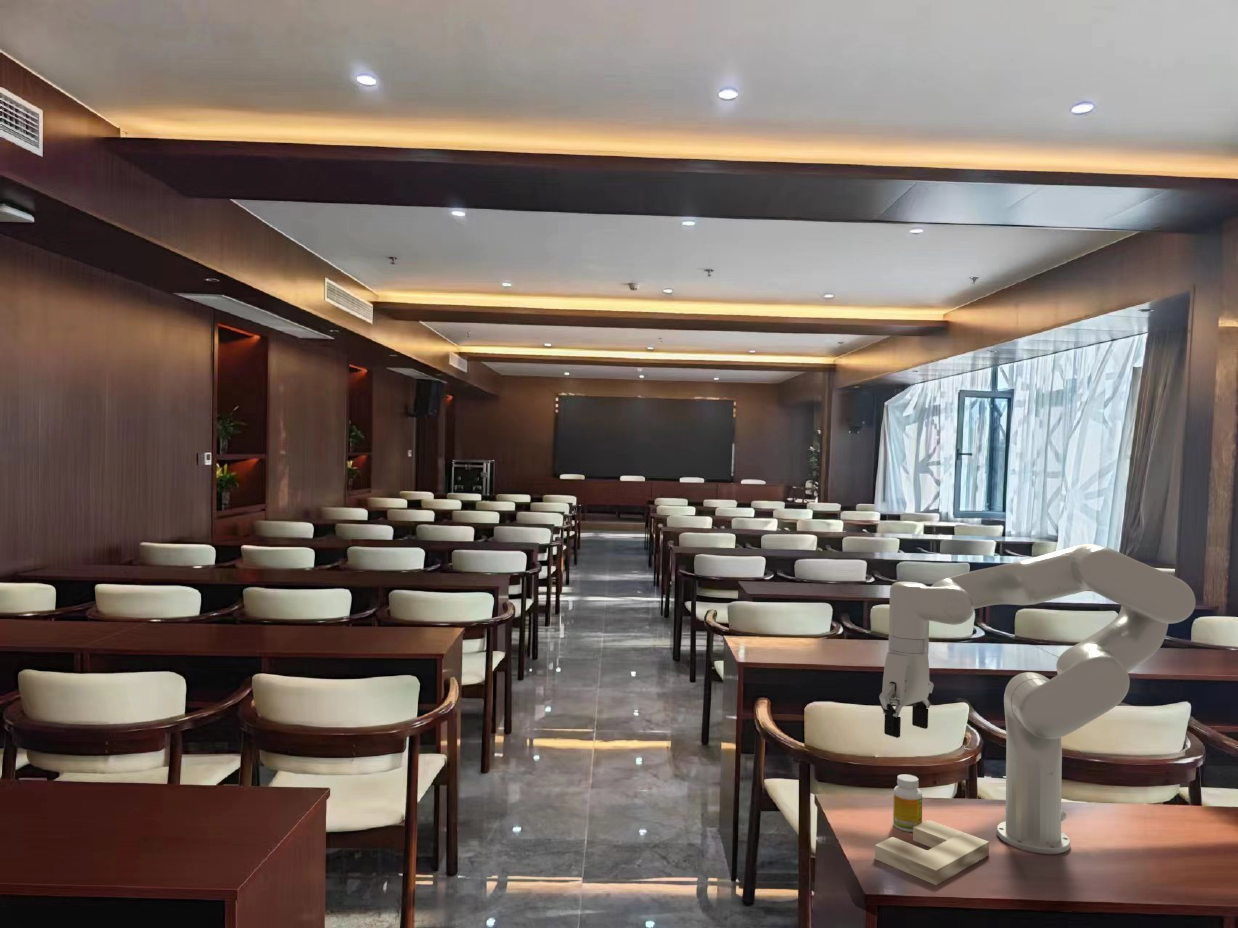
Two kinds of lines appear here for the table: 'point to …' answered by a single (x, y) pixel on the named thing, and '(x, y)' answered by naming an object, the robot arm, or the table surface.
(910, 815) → the supplement bottle
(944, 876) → the notched board
